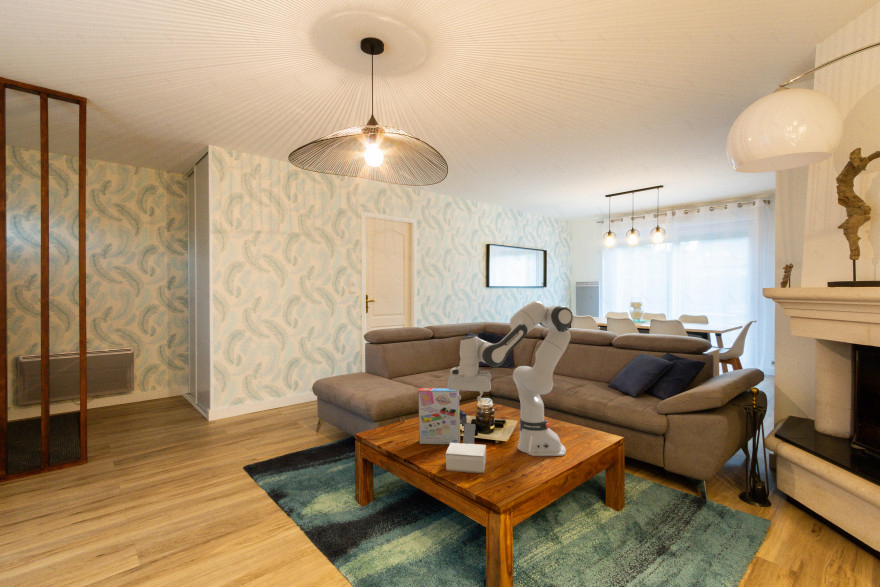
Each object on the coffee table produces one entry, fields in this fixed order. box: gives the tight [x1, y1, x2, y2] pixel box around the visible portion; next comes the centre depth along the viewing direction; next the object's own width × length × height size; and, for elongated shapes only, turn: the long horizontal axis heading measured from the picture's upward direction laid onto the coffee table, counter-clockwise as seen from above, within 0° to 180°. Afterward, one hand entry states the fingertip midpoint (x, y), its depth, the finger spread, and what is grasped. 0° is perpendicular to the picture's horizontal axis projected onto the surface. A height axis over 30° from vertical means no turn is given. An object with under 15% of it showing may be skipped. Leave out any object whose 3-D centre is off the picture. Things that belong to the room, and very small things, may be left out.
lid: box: [445, 423, 487, 462], centre depth 181 cm, size 16×20×9 cm
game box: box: [417, 387, 461, 445], centre depth 206 cm, size 21×6×27 cm, turn 84°
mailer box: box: [445, 448, 487, 474], centre depth 178 cm, size 16×12×7 cm
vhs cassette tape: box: [459, 408, 468, 426], centre depth 229 cm, size 18×3×10 cm, turn 18°
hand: (469, 399), depth 190 cm, fingers open, 8 cm apart
